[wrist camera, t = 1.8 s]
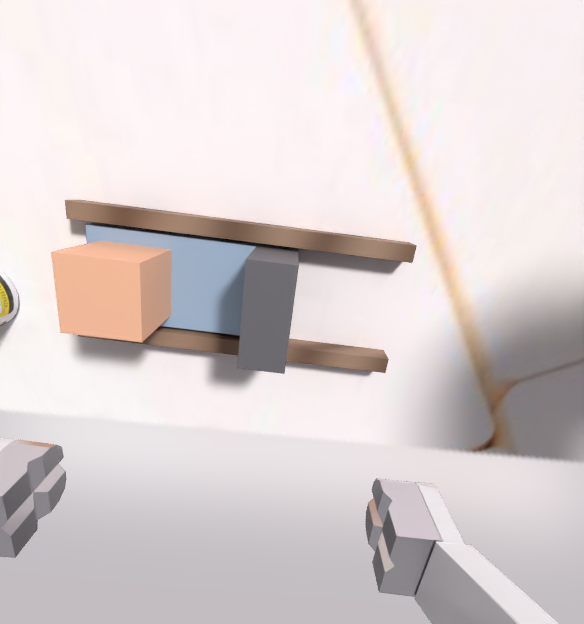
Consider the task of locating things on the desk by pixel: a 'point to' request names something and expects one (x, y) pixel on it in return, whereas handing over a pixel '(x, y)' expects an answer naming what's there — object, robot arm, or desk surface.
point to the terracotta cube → (112, 289)
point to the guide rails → (256, 234)
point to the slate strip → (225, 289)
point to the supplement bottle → (7, 299)
